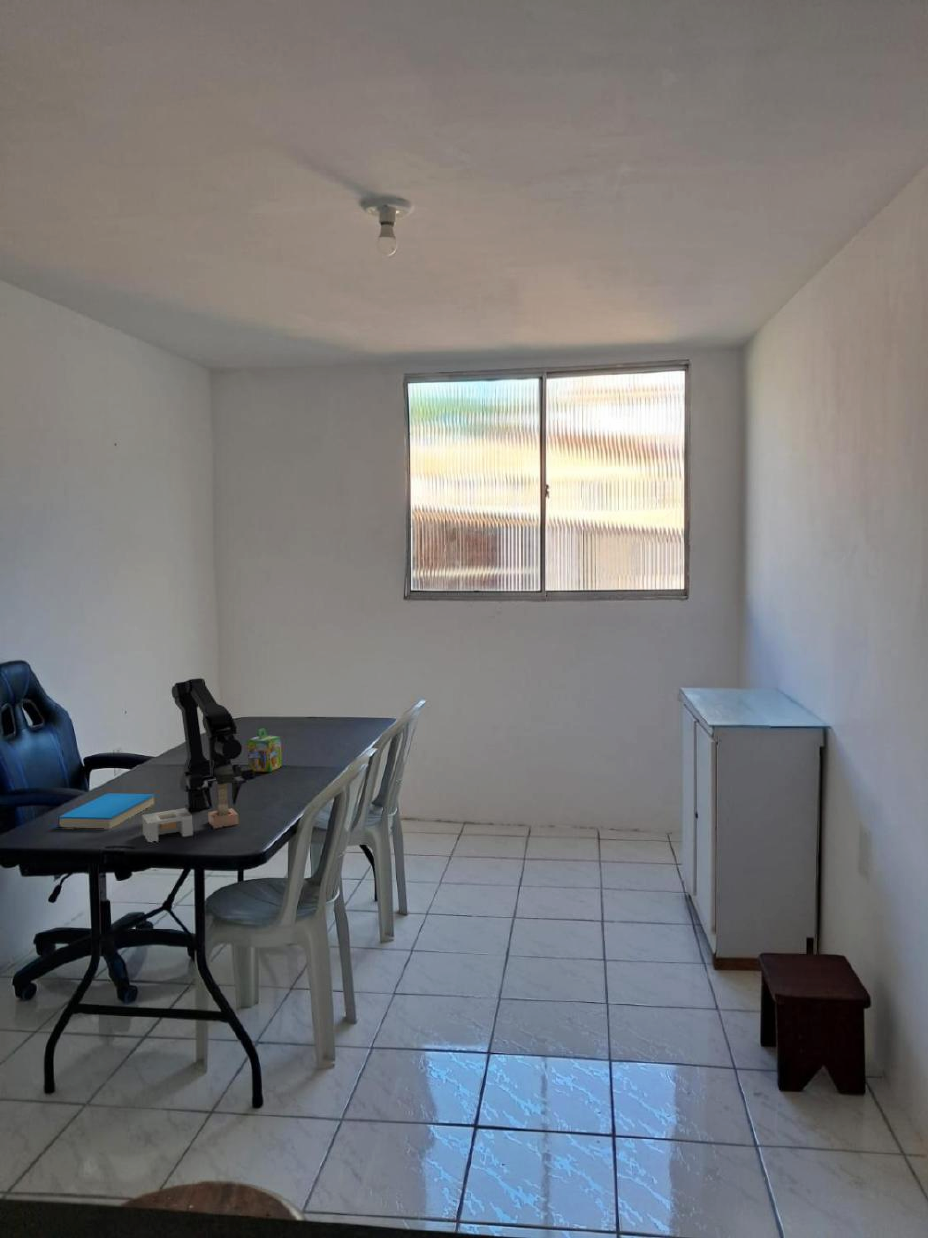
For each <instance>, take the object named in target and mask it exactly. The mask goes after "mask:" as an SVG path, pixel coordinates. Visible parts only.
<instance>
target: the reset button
mask: <svg viewBox="0 0 928 1238" xmlns="http://www.w3.org/2000/svg"><path fill="white" fill-rule="evenodd" d="M160 827H161V828H162V830H165V829H171V828H176V822H170V823H164V824H160Z"/></svg>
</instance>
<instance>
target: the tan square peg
mask: <svg viewBox="0 0 928 1238" xmlns="http://www.w3.org/2000/svg"><path fill="white" fill-rule="evenodd" d="M215 792H216V793H215V794H216V795H215V796H216V797H215V799H216V811H217V815H218V816H220V815H226V814H228V809H229V800H228V799H229V797H228V783H225V784H223V785H220V784H218V783H217V781H215Z"/></svg>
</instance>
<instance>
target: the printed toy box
mask: <svg viewBox="0 0 928 1238" xmlns="http://www.w3.org/2000/svg"><path fill="white" fill-rule="evenodd" d="M262 732H263V735H262ZM257 733H258V735H257V736H255V737H252V738H249V739H247V740H246V745H247V749H246V750H247V759H248V760H247V761H248V766H249V767H250V768H251V769H253V770H254V772H255V773H256V772H262V773H264V772H265V773H271V772H274V771H275V770H278V769H280V767H281V768H283V758H282V757H283V756H282V755H283V754H282V740H281V739H282V736H275V735H267V731H266V728H264V727H262V728H260V729H258V730H257Z"/></svg>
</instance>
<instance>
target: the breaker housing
mask: <svg viewBox="0 0 928 1238" xmlns="http://www.w3.org/2000/svg"><path fill="white" fill-rule="evenodd" d="M141 819H142V820H141V822H142V835H143V836H145V837H144V838H145V840H146V842H147V841H148V842H151V843H154V842H153V841H156V842H159V841H160V840H159V836H160V835H161V836H162V835H165V834H166V833H167V834H172V833H177V832H179V834H180V835H181V836H182V837H189V836H193V835H194V832H193V831H194V830H193V815H192V814H191V813H190V811H188V810H187V809H186V807H183V808H178V809H171V810H166V811H165V810H164V811H159V812H153V813H147V814H142V815H141ZM170 822H176V828H171V829H165V830H162V828H161V827H160V824H164V823H170ZM148 842H147V843H148Z"/></svg>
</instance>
